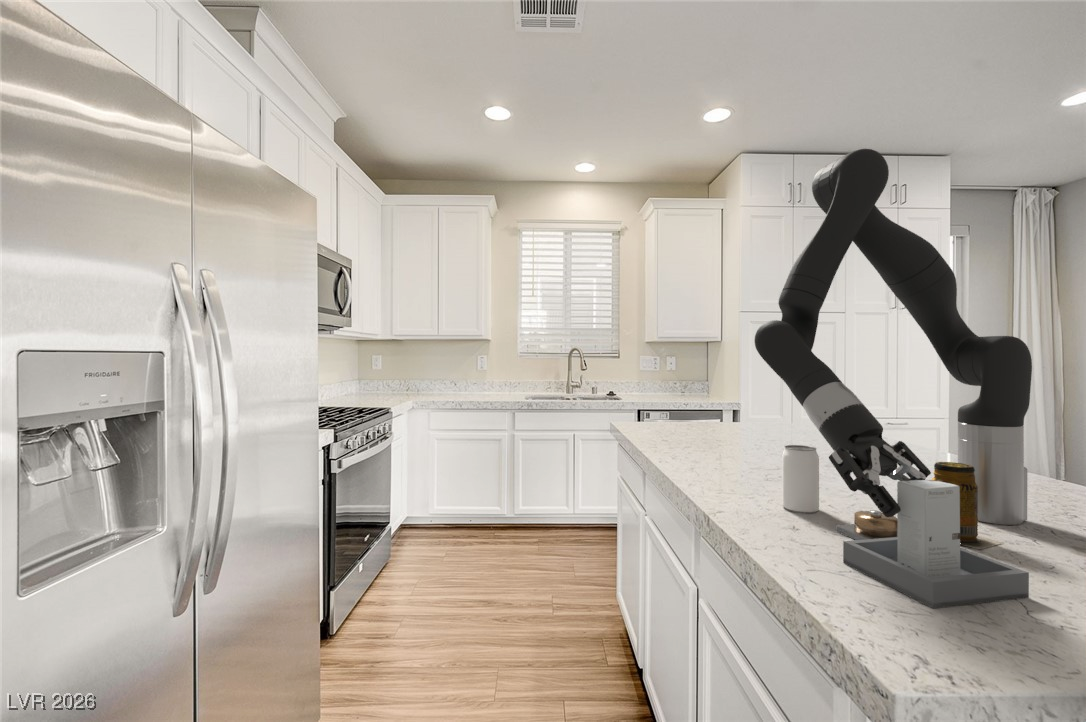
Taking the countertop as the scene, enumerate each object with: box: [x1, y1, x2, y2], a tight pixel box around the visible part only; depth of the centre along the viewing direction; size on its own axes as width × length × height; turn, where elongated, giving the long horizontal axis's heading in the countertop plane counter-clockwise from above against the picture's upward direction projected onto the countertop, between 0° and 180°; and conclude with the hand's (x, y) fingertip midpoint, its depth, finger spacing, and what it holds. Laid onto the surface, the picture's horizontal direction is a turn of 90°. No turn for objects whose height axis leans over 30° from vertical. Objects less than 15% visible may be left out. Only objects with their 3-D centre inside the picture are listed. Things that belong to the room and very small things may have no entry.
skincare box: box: [896, 479, 961, 578], centre depth 70 cm, size 6×4×12 cm
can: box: [781, 444, 820, 514], centre depth 102 cm, size 6×6×12 cm
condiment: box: [931, 461, 1003, 550], centre depth 85 cm, size 7×8×12 cm
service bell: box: [835, 509, 898, 540], centre depth 86 cm, size 8×8×4 cm
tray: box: [842, 537, 1030, 609], centre depth 70 cm, size 14×14×3 cm
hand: (916, 510), depth 71 cm, fingers open, 8 cm apart
